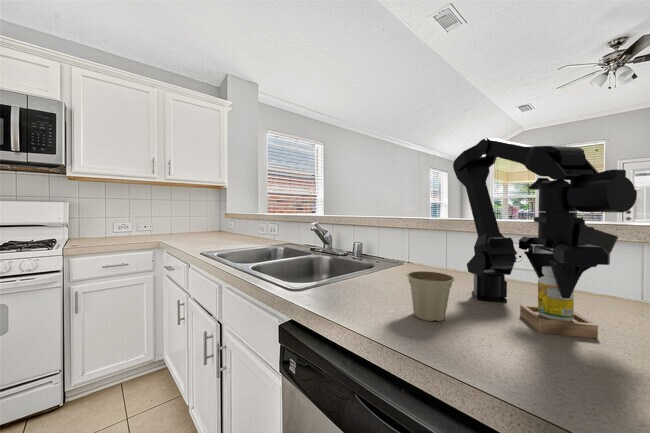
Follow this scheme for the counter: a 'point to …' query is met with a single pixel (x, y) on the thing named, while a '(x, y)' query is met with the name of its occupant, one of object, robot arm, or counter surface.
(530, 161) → the robot arm
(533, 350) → the counter surface
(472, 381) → the counter surface
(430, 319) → the flower pot
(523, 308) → the wooden tray
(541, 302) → the supplement bottle
